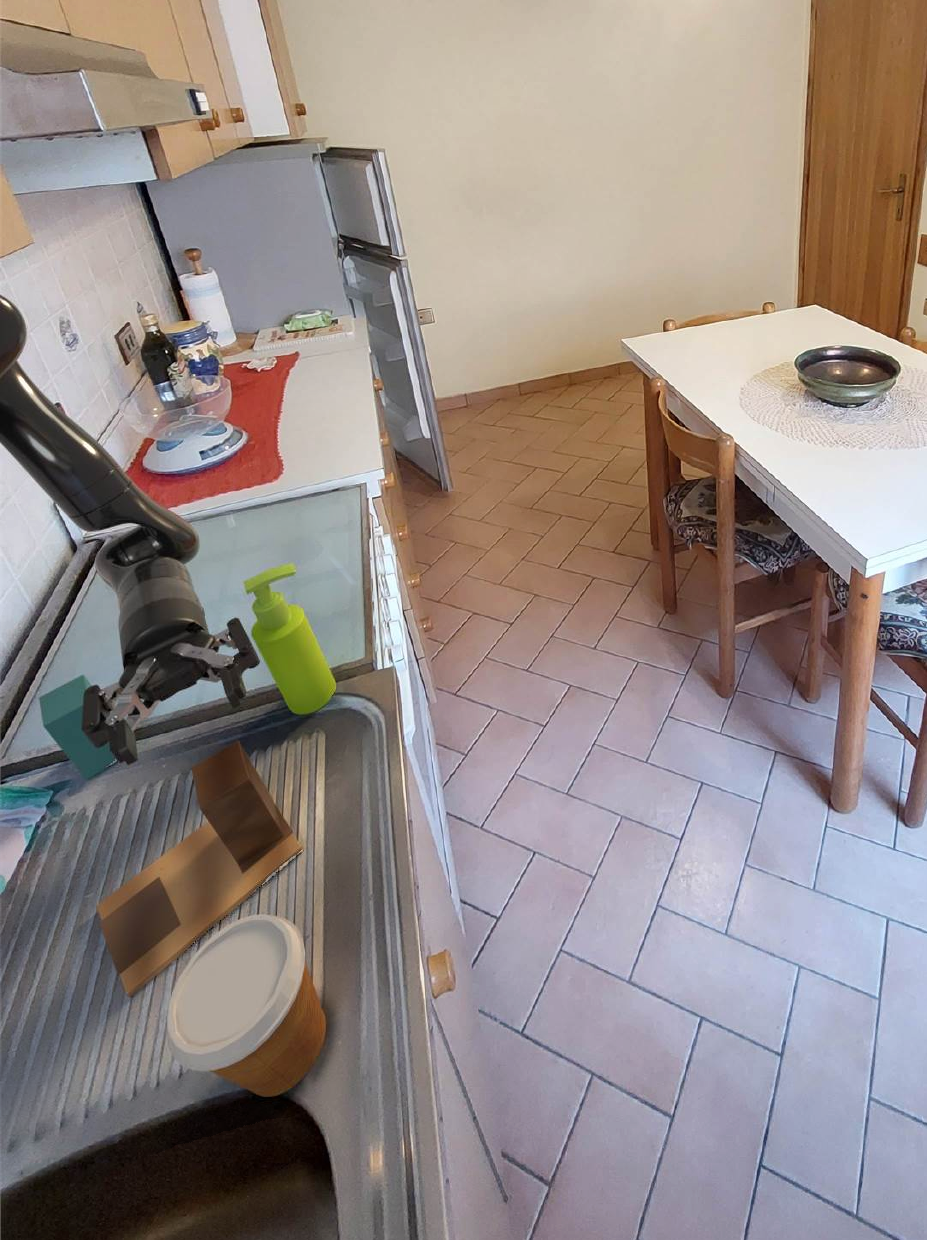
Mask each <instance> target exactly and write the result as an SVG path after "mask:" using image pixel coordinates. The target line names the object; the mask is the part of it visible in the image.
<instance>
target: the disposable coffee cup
mask: <svg viewBox="0 0 927 1240" xmlns="http://www.w3.org/2000/svg"><path fill="white" fill-rule="evenodd" d="M303 938H304V937H303V936H302V934H301V932H300V930H299V928H298V927H297V926H296V925H295V924H294V923H293V922H292V921H291V920H288V919H287V918H286V917H284V916H278V915H273V914H272V915H270V914H254V915H253V914H252V915H249V916H246V917H243V918H240V919H237V920H235V921H233V922H231V923H229V924H228V925H226V926H224V927H223V928H222V929H220V930H219V931H217V932H216V933H215V934H214V935H212V936H211V937H210V938H209V939H208V940H207V941H206V942H204V943H203V944H202V946H201V947H200V948H198V950H197V951H196V952H195V953H194V955H192V956H191V958H190V959H189V961H188V963H187V964H186V966H185V967H184V969H183V971H182V972H181V974H180V976H179V977H178V978H177V981H176V983H175V985H174V988H173V990H172V992H171V996H170V999H169V1001H168V1006H167V1007H168V1008H167V1015H166V1041H167V1046H168V1047H167V1048H168V1049H169V1052H170V1054H171V1056H172V1057H173V1059H174V1060H175V1061H176V1062H177V1063H178V1064H179V1065H180V1066H181V1067H184V1068H186V1069H189V1070H190V1071H193V1072H203V1073H204V1072H209V1073H212V1074H214V1075H217V1076H219V1077H221V1078H223V1079H225V1080H227V1081H229V1082H231V1083H233V1084H235V1085H237V1086H240V1087H241V1088H244V1089H245V1090H248V1091H249V1092H251V1093H254V1094H255V1095H256V1096H260V1097H264V1098H267V1097H276V1096H279V1095H281V1094H283V1093H286V1092H287V1091H289V1090H290V1089H292V1088H293V1087H295V1086H296V1085H297V1084H298V1083H299V1082H300V1081H301V1080H302V1079H303V1078H304V1077H305V1076H306V1075H307V1074H308V1072H310V1070H311V1068H312V1067H313V1065H314V1064H315V1062H316V1060H317V1058H318V1056H319V1054H320V1052H321V1050H322V1047H323V1044H324V1042H325V1037H326V1036H325V1035H326V1031H327V1030H326V1029H327V1028H326V1027H327V1026H326V1025H327V1021H326V1015H325V1012H324V1010H323V1007H322V1005H321V1002H320V998H319V996H318V993H317V990H316V987H315V984H314V982H313V979H312V976H311V973H310V970H309V968H308V965H307V963H306V949H305V944H304V939H303Z"/></svg>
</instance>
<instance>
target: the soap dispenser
mask: <svg viewBox="0 0 927 1240" xmlns="http://www.w3.org/2000/svg"><path fill="white" fill-rule="evenodd" d="M296 572H297V570H296V567H295V564H294V563H287V564H283V565H279V566H275V567H272V568H270V569H268V570H267V569H266V570H265V571H263V572H261V573H258V574H256V575H254V576H252V577H250V578H248V579H245V580H244V581H243V586H244V590H245V593H246V594H247V595H250V594H252V593H253V594H254V596H255V598H256V599H255V600H254V601H253V603H252V605H251V609H252V612H253V613H254V615H255V618H256V619H257V620H255V622H254V623H253V626H252V627H251V631H250V635H251V638H252V639H253V642H254V644H255V645H256V648H257V649H258V651H259V653H260V656H261V657H262V659H263V661H264V663H265V665H266V667H267V668H268V670H269V672H270V675H271V677H272V679H273V680H274V682H275V684H276V686H277V688H278V690H279V692H280V694H281V696H282V698H283V700H284V701H285V704H286V706H287V708H288V709H289V710H291V711H292V712H291V711H290V712H291V713H293V714H295V715H300V716H301V715H309V714H312V713H315V712H317V711H319V710H321V709H322V708H323V707H324V706H326V705H327V704H328V703H329V702H330V701H331V700H332V698H333V697H332V695H333V694H334V695H335V693H336V689H337V682H336V680H335V677H334V676H333V673H332V671H331V669H330V667H329V664H328V662H327V660H326V658H325V655H324V653H323V651H322V649H321V647H320V644H319V642H318V640H317V638H316V636H315V634H314V631H313V629H312V626H311V624H310V622H309V620H308V618H307V616H306V614H305V611H304V609H303V607H301V606H299V605H297V604H288V603H287V601H286V599H285V597H284V594H283V593H282V592H281V591H277V590H272V588H271V586H270V584H273V583H275V582H277V581H280V580H283V579H285V578H289V577H292V576H294V575H295V574H296ZM334 692H335V693H334ZM334 695H333V696H334ZM331 697H332V698H331Z"/></svg>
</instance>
